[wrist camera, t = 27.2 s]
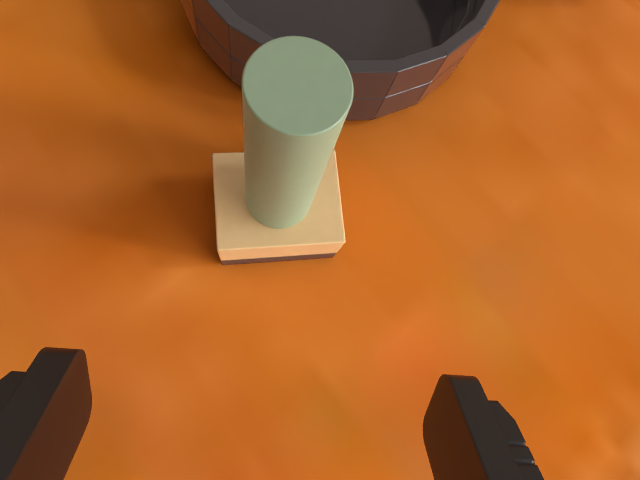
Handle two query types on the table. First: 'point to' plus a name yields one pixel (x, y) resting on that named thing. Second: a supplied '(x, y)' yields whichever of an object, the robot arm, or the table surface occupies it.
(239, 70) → the pan
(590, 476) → the table surface
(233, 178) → the green peg on base
